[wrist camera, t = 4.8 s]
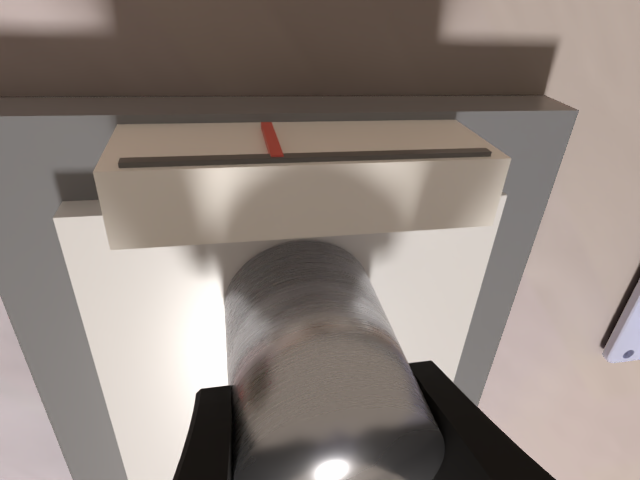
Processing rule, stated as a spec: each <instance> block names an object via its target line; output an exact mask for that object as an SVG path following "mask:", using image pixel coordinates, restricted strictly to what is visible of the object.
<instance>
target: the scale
mask: <svg viewBox="0 0 640 480" xmlns="http://www.w3.org/2000/svg"><path fill="white" fill-rule="evenodd" d="M578 112H579V110H577V109H575V108H572V107H570V106H568V105H565V104H563V103H561V102H559V101H556V100H554V99H552V98H549V97H547V96H545V95H524V96H184V97H0V296H1V298H2V301H3V304H4V306H5V309H6V311H7V314H8V316H9V319H10V321H11V324H12V326H13V329H14V331H15V334H16V336H17V339H18V342H19V344H20V347H21V349H22V352H23V354H24V357H25V359H26V362H27V364H28V367H29V369H30V372H31V375H32V377H33V380H34V382H35V385H36V387H37V390H38V392H39V395H40V397H41V400H42V402H43V405H44V408H45V410H46V413H47V415H48V418H49V420H50V423H51V425H52V428H53V430H54V433H55V435H56V438H57V441H58V443H59V446H60V448H61V451H62V453H63V456H64V458H65V461H66V463H67V466H68V468H69V471H70V474H71V476H72V479H73V480H173V477H174V474H175V471H176V468H177V465H178V463H179V460H180V457H181V454H182V450H183V447H184V444H185V440H186V437H187V433H188V430H189V426H190V422H191V418H192V413H193V409H194V403H195V396H196V393H197V392H198V391H199V390H200V389H202V388H210V387H218V386H226V385H228V376H227V354H226V332H225V309H224V302H225V295H226V292H227V289H228V286H229V284H230V282H231V280H232V279H233V277H234V276H235V275H236V273H237V272H238V271H239V270H240V269H241V267H242V266H243V265H244V264H246V263H247V262H248V261H249V260H250V259H252V258H253V257H255V256H256V255H258V254H259V253H261V252H263V251H265V250H267V249H269V248H272V247H275V246H277V245H281V244H285V243H289V242H295V241H320V242H325V243H330V244H332V245H335V246H338V247H340V248H342V249H344V250H346V251H348V252H349V253H350V254H352V255H353V256H354V257H355V258H356V259H357V260H358V261H359V262H360V263H361V265H362V266H363V267H364V269H365V271H366V273H367V275H368V278H369V280H370V282H371V284H372V286H373V288H374V290H375V293H376V295H377V297H378V299H379V301H380V303H381V305H382V308H383V310H384V312H385V314H386V316H387V318H388V321H389V323H390V325H391V327H392V329H393V331H394V333H395V336H396V338H397V340H398V342H399V344H400V346H401V348H402V351H403V353H404V355H405V357H406V359H407V361H408V363H414V362H422V361H430V360H431V361H433V362H434V363H435V364H436V365H437V366H438V367H439V368H440V369H441V370H442V371H443V372H444V373H445V374H446V376H447V377H448V378H449V379H450V380H451V381H452V382H453V383H454V384H455V385H456V386H457V387H458V388H459V389H460V390H461V391H462V392H463V393H464V394H465V395H466V396H467V397H468V398H469V399H470V400H471V401H472V402H473V403H474V404H475V405H476V406H478V404H479V401H480V398H481V395H482V392H483V389H484V386H485V383H486V380H487V377H488V374H489V371H490V369H491V366H492V363H493V360H494V357H495V354H496V351H497V348H498V345H499V342H500V339H501V336H502V334H503V331H504V328H505V325H506V322H507V319H508V316H509V313H510V310H511V307H512V304H513V301H514V298H515V296H516V293H517V290H518V287H519V284H520V281H521V278H522V275H523V272H524V269H525V266H526V263H527V261H528V258H529V255H530V252H531V249H532V246H533V243H534V240H535V237H536V234H537V231H538V228H539V225H540V223H541V220H542V217H543V214H544V211H545V208H546V205H547V202H548V199H549V196H550V193H551V190H552V188H553V185H554V182H555V179H556V176H557V173H558V170H559V167H560V164H561V161H562V158H563V155H564V153H565V150H566V147H567V144H568V141H569V138H570V135H571V132H572V129H573V126H574V123H575V120H576V117H577V115H578Z"/></svg>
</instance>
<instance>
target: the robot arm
mask: <svg viewBox="0 0 640 480" xmlns="http://www.w3.org/2000/svg"><path fill="white" fill-rule="evenodd" d="M602 355H603V357H604V358H605V359H606V360H607V361H608V362H610V363H618V362H626V361H633V360H640V279H639V281H638V283H637V285H636V287H635V289H634V291H633V293H632V295H631V297H630V299H629V301H628V303H627V304H626V306H625V308H624V310H623V312H622V314H621V316H620V318H619V320H618V322H617V324H616V326H615V328H614V330H613V332H612V334H611V336H610V338H609V340H608V342H607V344H606V346H605V348H604V350H603V353H602ZM409 366H410V368H411V370H412V372H413V374H414V376H415V378H416V381H417V383H418V385H419V387H420V389H421V391H422V393H423V396H424V398H425V400H426V402H427V404H428V406H429V408H430V411H431V413H432V415H433V417H434V419H435V421H436V423H437V426H438V428H439V430H440V432H441V434H442V436H443V440H444V444H445V453H444V458H443V461H442V464H441V466H440V468H439V470H438V472H437V473H436V475H435V476H434V478H433V479H432V480H556V479H555V478H553V477H552V476H551V475H550V474H549V473H548V472H547V471H545V470H544V469H543V468H542V467H541V466H540V465H539V464H537V463H536V462H535V461H534V460H533V459H532V458H531V457H529V456H528V455H527V454H526V453H525V452H524V451H523V450H522V449H521V448H520V447H518V446H517V445H516V444H515V443H514V442H513V441H512V440H511V439H510V438H509V437H508V436H507V435H506V434H505V433H504V432H503V431H502V430H501V429H499V428H498V427H497V426H496V425H495V424H494V423H493V422H492V421H491V420H490V419H489V418H488V417H487V416H486V415H485V414H484V413H483V412H482V411H481V410H480V409H479V408H478V407H477V406H476V405H475V404H474V403H473V402H472V401H471V400H470V399H469V398H468V397H467V396H466V395H465V394H464V393H463V392H462V391H461V390H460V389H459V388H458V387H457V386H456V385H455V384H454V383H453V382H452V381H451V380H450V379H449V378H448V377H447V376H446V374H445V373H444V372H443V371H442V370H441V369H440V368H439V367H438V366H437V365H436V364H435V363H434V362H433V361H431V360H430V361H422V362H414V363H409ZM232 436H233V425H232V405H231V386H230V385H226V386H218V387H210V388H202V389H200V390H199V391H198V392H197V393H196V396H195V403H194V409H193V413H192V418H191V422H190V426H189V430H188V433H187V437H186V440H185V444H184V447H183V450H182V454H181V457H180V460H179V463H178V465H177V468H176V471H175V474H174V477H173V480H232Z"/></svg>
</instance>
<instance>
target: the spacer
mask: <svg viewBox="0 0 640 480" xmlns="http://www.w3.org/2000/svg"><path fill="white" fill-rule="evenodd" d="M224 309H225V332H226V354H227V376H228V385H230V386H231V405H232V425H233V436H232V480H432V479H433V478H434V476H435V475H436V473H437V472H438V470H439V468H440V466H441V464H442V461H443V458H444V453H445V444H444V440H443V436H442V434H441V432H440V430H439V428H438V426H437V423H436V421H435V419H434V417H433V415H432V413H431V411H430V408H429V406H428V404H427V402H426V400H425V398H424V396H423V393H422V391H421V389H420V387H419V385H418V383H417V381H416V378H415V376H414V374H413V372H412V370H411V368H410V366H409V363H408V361H407V359H406V357H405V355H404V353H403V351H402V348H401V346H400V344H399V342H398V340H397V338H396V336H395V333H394V331H393V329H392V327H391V325H390V323H389V321H388V318H387V316H386V314H385V312H384V310H383V308H382V305H381V303H380V301H379V299H378V297H377V295H376V293H375V290H374V288H373V286H372V284H371V282H370V280H369V278H368V275H367V273H366V271H365V269H364V267H363V266H362V265H361V263H360V262H359V261H358V260H357V259H356V258H355V257H354V256H353V255H352V254H350V253H349V252H348V251H346V250H344V249H342V248H340V247H338V246H335V245H332V244H330V243H325V242H320V241H295V242H289V243H285V244H281V245H277V246H275V247H272V248H269V249H267V250H265V251H263V252H261V253H259V254H258V255H256V256H255V257H253V258H252V259H250V260H249V261H248V262H247V263H246V264H244V265H243V266H242V267H241V269H240V270H239V271H238V272H237V273H236V275H235V276H234V277H233V279H232V280H231V282H230V284H229V286H228V289H227V292H226V295H225V302H224Z"/></svg>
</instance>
